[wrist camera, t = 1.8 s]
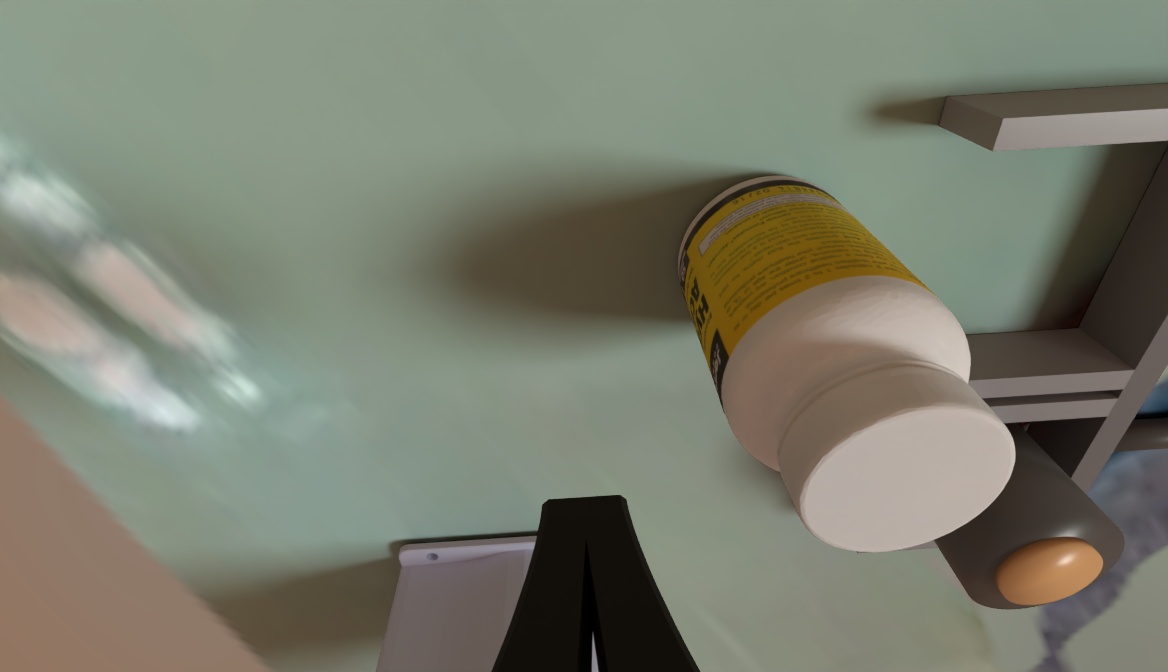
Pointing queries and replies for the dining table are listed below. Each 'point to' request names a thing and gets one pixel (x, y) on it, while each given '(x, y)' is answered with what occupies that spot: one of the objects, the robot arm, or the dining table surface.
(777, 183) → the supplement bottle
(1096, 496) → the dining table surface
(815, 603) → the dining table surface
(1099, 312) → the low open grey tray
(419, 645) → the robot arm
